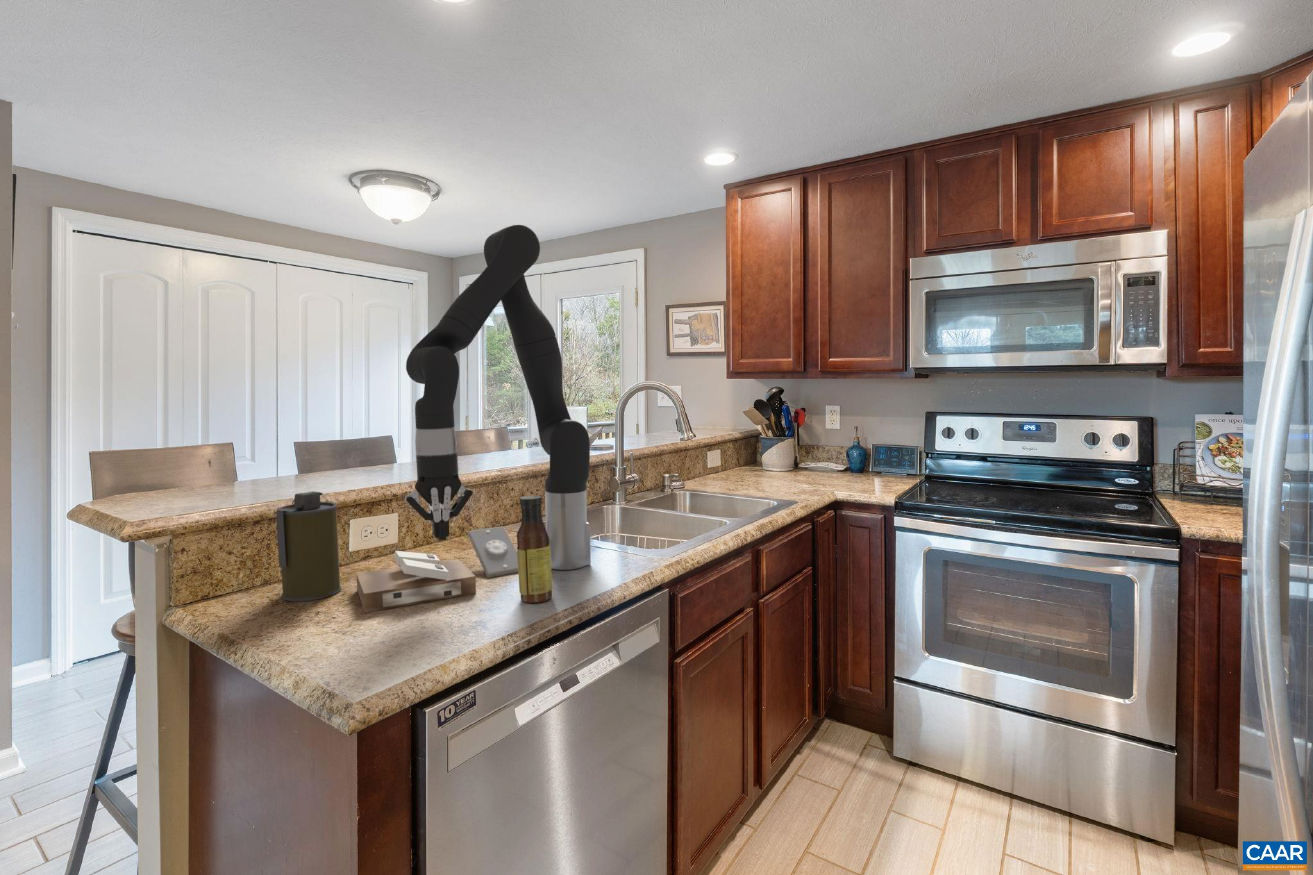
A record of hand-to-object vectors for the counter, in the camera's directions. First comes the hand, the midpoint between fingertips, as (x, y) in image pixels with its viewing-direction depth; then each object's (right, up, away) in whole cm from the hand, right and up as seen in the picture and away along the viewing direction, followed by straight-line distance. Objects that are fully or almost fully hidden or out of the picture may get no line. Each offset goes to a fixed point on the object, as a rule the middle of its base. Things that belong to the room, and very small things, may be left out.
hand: (441, 539), depth 122 cm
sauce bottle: (+19, -11, -2) cm, 22 cm away
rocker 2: (-3, -6, -1) cm, 6 cm away
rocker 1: (-7, -5, +6) cm, 10 cm away
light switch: (+6, -10, +19) cm, 22 cm away
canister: (-26, -11, +2) cm, 29 cm away
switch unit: (-6, -11, +2) cm, 13 cm away
